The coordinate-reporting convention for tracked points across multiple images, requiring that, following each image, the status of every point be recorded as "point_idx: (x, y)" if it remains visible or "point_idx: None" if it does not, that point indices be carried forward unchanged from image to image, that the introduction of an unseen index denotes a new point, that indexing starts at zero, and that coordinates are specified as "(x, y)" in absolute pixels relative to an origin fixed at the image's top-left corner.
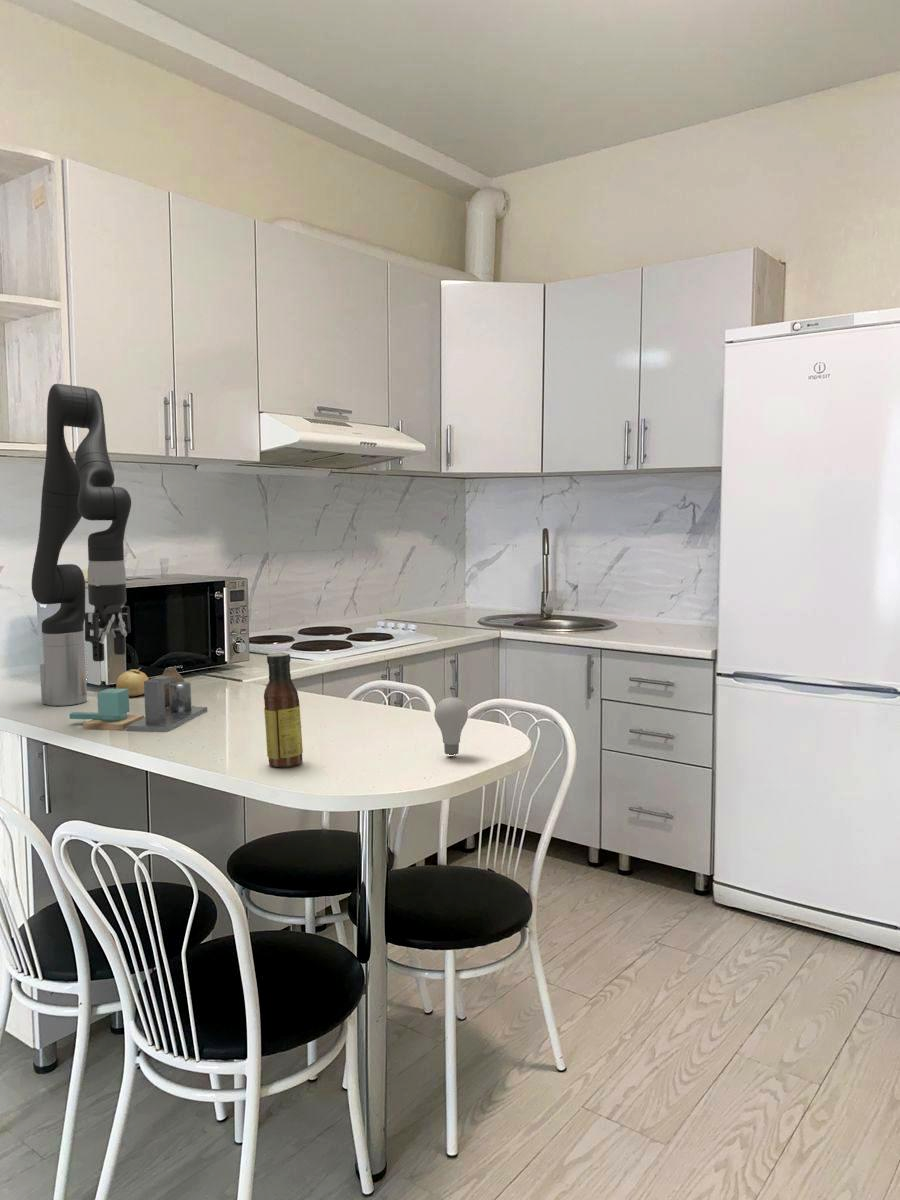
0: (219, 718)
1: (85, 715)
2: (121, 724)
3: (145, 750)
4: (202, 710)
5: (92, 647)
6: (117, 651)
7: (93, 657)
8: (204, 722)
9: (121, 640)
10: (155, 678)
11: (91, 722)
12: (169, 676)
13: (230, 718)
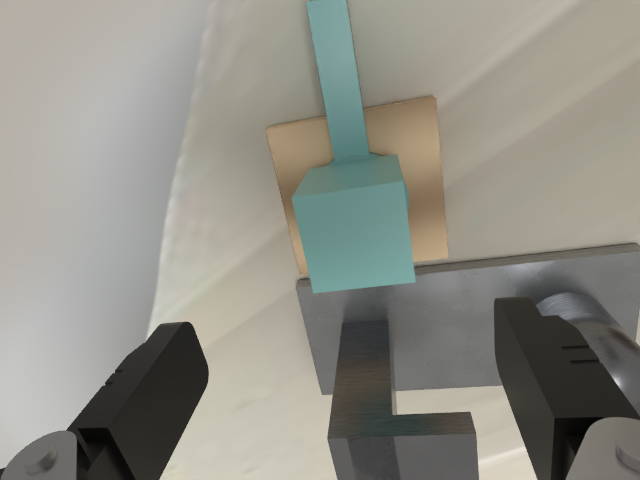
0: (513, 434)
1: (321, 88)
2: (299, 268)
3: None
4: None
5: (77, 416)
6: (502, 332)
7: (134, 354)
8: None
9: (540, 461)
10: (405, 450)
11: (287, 150)
12: (469, 478)
13: (517, 457)
